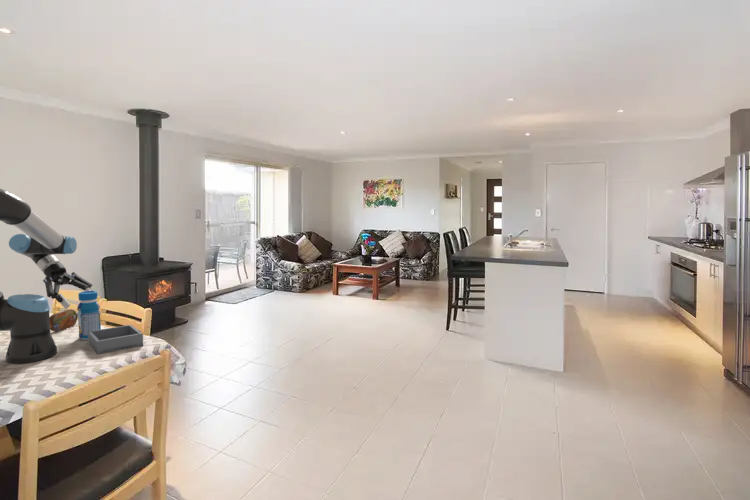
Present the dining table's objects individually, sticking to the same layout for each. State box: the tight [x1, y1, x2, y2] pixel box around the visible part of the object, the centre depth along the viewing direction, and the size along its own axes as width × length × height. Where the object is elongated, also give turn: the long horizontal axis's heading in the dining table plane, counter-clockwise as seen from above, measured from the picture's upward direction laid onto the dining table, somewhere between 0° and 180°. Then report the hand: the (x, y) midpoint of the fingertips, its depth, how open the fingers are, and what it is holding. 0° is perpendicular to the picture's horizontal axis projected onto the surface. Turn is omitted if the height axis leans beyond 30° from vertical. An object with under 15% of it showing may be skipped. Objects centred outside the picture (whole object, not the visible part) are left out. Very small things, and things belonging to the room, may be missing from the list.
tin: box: [49, 309, 78, 332], centre depth 196 cm, size 15×3×8 cm, turn 179°
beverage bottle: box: [76, 290, 102, 341], centre depth 183 cm, size 8×8×20 cm
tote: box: [87, 324, 144, 355], centre depth 175 cm, size 18×16×5 cm
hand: (82, 303), depth 185 cm, fingers open, 13 cm apart
